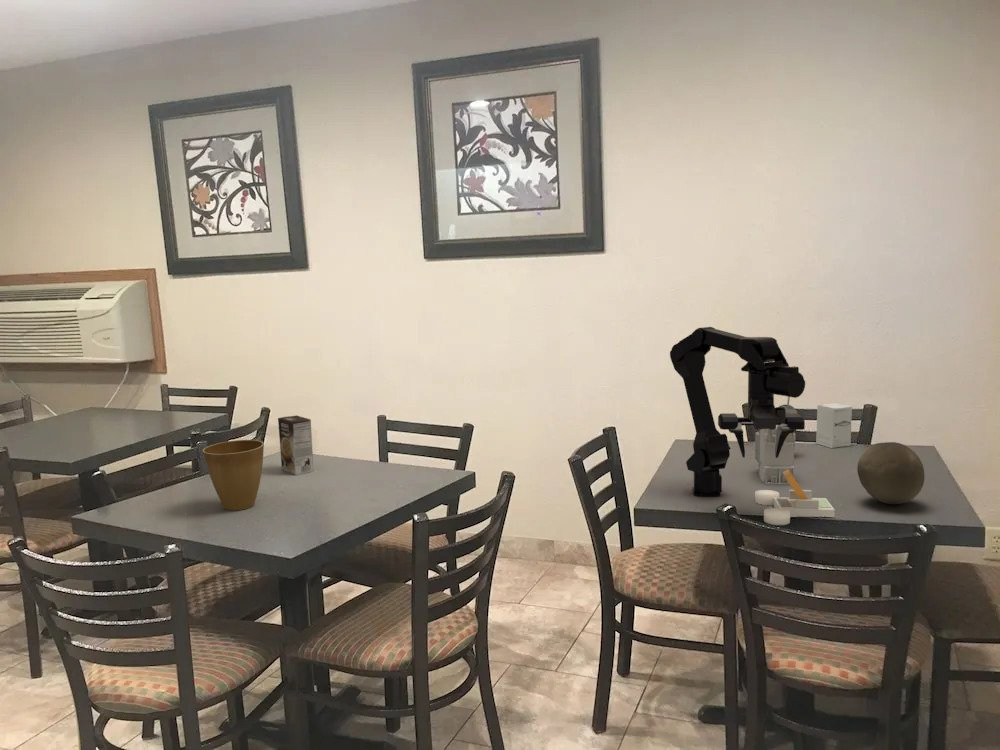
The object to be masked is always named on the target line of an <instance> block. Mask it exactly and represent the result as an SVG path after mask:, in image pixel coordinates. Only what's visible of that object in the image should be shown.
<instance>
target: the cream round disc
mask: <svg viewBox="0 0 1000 750" xmlns="http://www.w3.org/2000/svg"><path fill="white" fill-rule="evenodd" d="M763 521H764V523H766V524H768V525H773V526H785V525H788V524H790V523H791V517H790V511H788V510H786V509H782V508H774V507H768V508H764V510H763Z"/></svg>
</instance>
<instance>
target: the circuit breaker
mask: <svg viewBox="0 0 1000 750" xmlns="http://www.w3.org/2000/svg"><path fill="white" fill-rule="evenodd" d="M777 426H779V425H776V429H774V430H770V429H761V430H758V431H757V432H755V434H754V436H755V437H754V438H755V439H754V441H755V442H754V459H755V460H756V462H757V463H758V466H757V467H758V468H757V469H758V470H757V471H758V473H757V475H758V476H757V477H758V478H759V477H760V478H759V479H760V480H761V481H762V483H763V482H765V483H764V485H790V483H788V480H787V479H786V477H785V475H784V474H783V472H784V471H786V470H789V471H790V473H791V474H792V475H793V477H794V478H795V472H796V471H795V470H796V469H795V464H794V463H795V447H794V444H795V445H796V438H795V433H790V434H789V435H788V436H787V437H786V439H785V441H784V443H783V445H782V448H781V451H780V453H779V456H778V458H776V457H775V445H776V434H777ZM768 482H770V483H768Z"/></svg>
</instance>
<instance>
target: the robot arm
mask: <svg viewBox="0 0 1000 750" xmlns="http://www.w3.org/2000/svg"><path fill="white" fill-rule="evenodd" d="M712 347H713V348H717V349H721V350H723V351H726V352H731V353H734V354H736V355H738V357H739V358H740V359H741V360H744V361H745V362H746V364H744V365H743V366H742V367H741V368H740V371H742V372H745V373H746V372H747V375H748V376H747V378H748V379H747V381H748V382H747V417H745V416H743V417H742V416H741V417H739V416H738V415H737V414H736V413H735V412H734V413H723V412H722V413H720V414H719V415H718V418H717V424H718V427H719V429H720V430H723V431H724V430H725V431H726V430H728V431H729V433H730V434H734V436H735V439H736V441H737V444H738V448H739V450H740V453H741V457H742V458H745V457H746V448H745V440H744V430H743V429H742V427H743V426H753V428H754V429H755V430H758V431H759V430H761V429H770V430H774V429H776V425H779V426H777V434H776V445H775V457H776V458H778V456H779V453H780V451H781V448H782V445H783V443H784V441H785V439H786V437H787V436H788V435H789V434H790V433H794V430H796V431H798V430H801V431H803V430H805V429H806V428H805V425H806V422H805V419H804V417H802V416H801V415H800V414H799V413H798V412H797V413H786V410H785V407H779V406H778V407H775V406H776V405H775V403H774V402H775V401H774V400H775V397H774V396H775V395H777V396H782V397H787V398H788V397H790V398H795V399H797V398H799V397H800V396H801V395H803V392H804V391H805V387H806V380H805V377H804V375H803V374H802V373H801V372H800V368H799V366H790V364H789V362H788V360H787V359H786V357H785V356H784V354H783V352H782V349H781V348H780V346H779V343H778V340H777V339H776V338H774V337H771V336H745V335H744V336H743V335H740V334H737V333H732V332H729V331H726V330H720V329H717V328H714V327H713V326H707V327H706V326H705V327H698V328H696V329H695V330H694V331H693V332H692V333H690V334H688V336H686V337H684V338H683V339H681V340H679V341H678V342H677V343H675V344H674V345H673V346H672V347H671V350H670V352H669V357H670V361H671V364H672V366H673V369H674V371H676V373H677V374H678V375H679V376H680V377H681V378H682V379H683V380H682V381H683V384H684V387H685V391H686V396H687V400H688V405H689V409H690V412H691V416H692V417H691V418H692V420H693V421H692V422H693V424H694V429H695V437H694V439H693V443H692V447H693V448H692V449H693V453H692V455H690V456H689V458H687V460H686V462H685V464H686V467H687V470H688V471H691V472H693V473H692V474H693V475H692V476H693V477H692V478H693V479H692V480H693V482H692V484H693V486H692V488H691V489H692V493H693V496H695V497H698V496H699V497H700V496H701V497H704V496H705V497H721V493H722V488H723V485H722V484H723V482H722V481H723V477H722V474H721V473H720V470H721V469H725V468H726V466H727V462H728V460H729V458H730V450H731V449H732V448H731V447H730V445H729V441H728V435H727V434H726V433H720V431H719V430H718V429H717V427H716V424H715V420H714V416H713V412H712V406H711V404H710V399H709V396H708V395H709V394H708V392H707V387H706V383H705V380H704V376H703V375H704V374H703V373H704V370H705V366H706V355H707V354H708V353H709V352H710V351H711V349H712Z"/></svg>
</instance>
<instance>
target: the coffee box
mask: <svg viewBox="0 0 1000 750" xmlns="http://www.w3.org/2000/svg"><path fill="white" fill-rule="evenodd" d="M277 420H278V421H277V422H278V435H279V447H280V462H281V470H282V471H284V472H286V473H289V474H291V475H293V476H298V475H303V474H308V473H313V472H314V471H315V470H314V469H315V468H314V456H313V455H314V454H313V437H312V420H311V419H310V418H307V417H303V416H300V415H296V414H295V415H289V416H283V417H282V416H281V417H278V418H277Z"/></svg>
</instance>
